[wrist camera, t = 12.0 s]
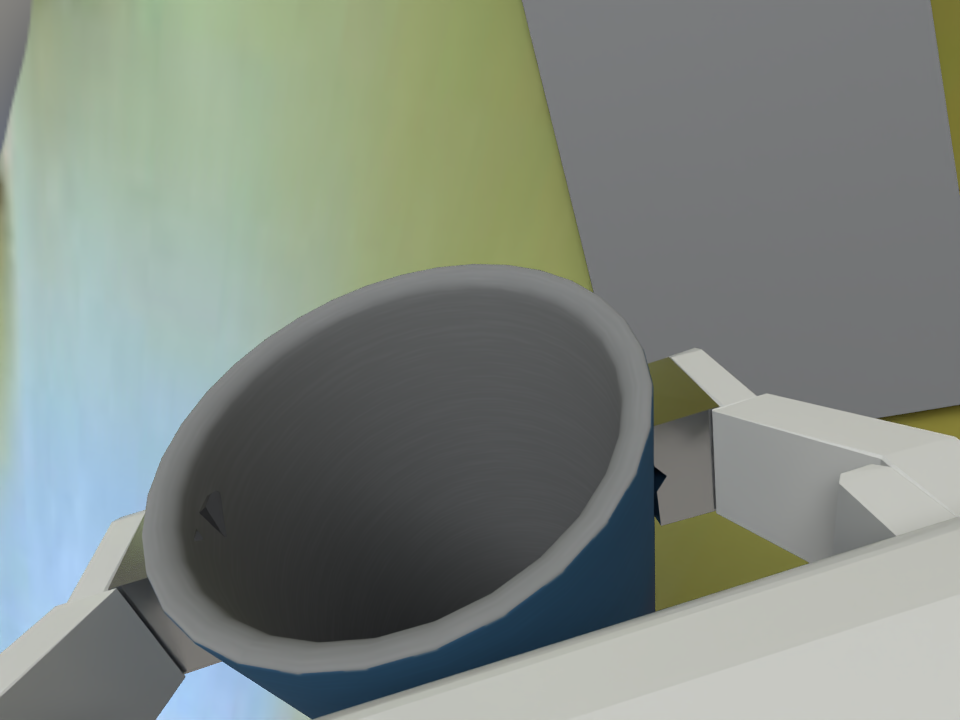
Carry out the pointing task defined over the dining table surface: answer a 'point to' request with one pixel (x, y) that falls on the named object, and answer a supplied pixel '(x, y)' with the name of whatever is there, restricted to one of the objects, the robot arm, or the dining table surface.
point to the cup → (412, 487)
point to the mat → (766, 188)
